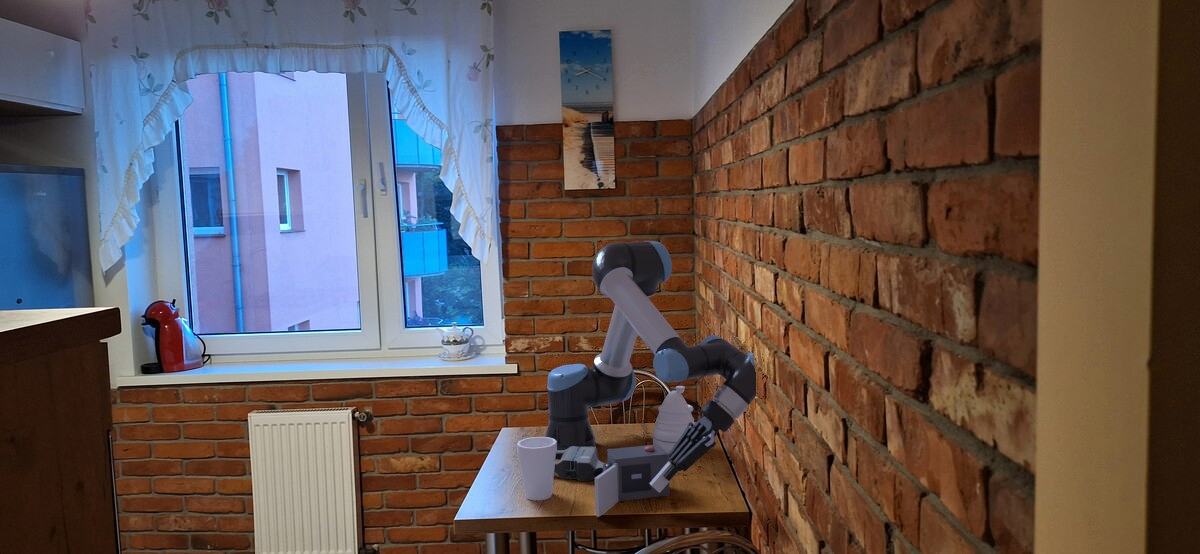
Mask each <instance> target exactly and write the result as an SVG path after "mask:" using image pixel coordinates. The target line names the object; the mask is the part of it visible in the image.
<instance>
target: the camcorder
mask: <svg viewBox="0 0 1200 554" xmlns="http://www.w3.org/2000/svg"><path fill="white" fill-rule="evenodd" d="M604 464H606V462H603V461H601V460H600V459H599V451H598V448H597V446H595V447H576V446H571V447H569V448H568V449H566V450H557V452H556V458H555V469H554V474H557V476H558V477H559V478H560V479H565V480H566V479H567V480H569V479H570V480H571V479H575V480H577V481H579V482H580V481H581V482H590V481H591V480H594V479H595V478H596V477H597V476H598V475H600V474H601V473H603V465H604Z"/></svg>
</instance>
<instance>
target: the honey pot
mask: <svg viewBox="0 0 1200 554" xmlns="http://www.w3.org/2000/svg"><path fill="white" fill-rule="evenodd" d="M684 392H685V386H683V385H677V386H675V390H671V391H669V393H667V394H666V396H665V398H664V400H663V402H662V404H661V405H660V406H658V408H657V410H658V412H659V413H658V415H657V417H656V418H655V420H656V421H655V424H654V427H653V430H652V434H653V435H652V445H657V444H659V445H660V446H661V447H662V448H663V449H664V450H665V451H666V452H667V453H668V454H669V453H670V451H671V450H672V448H673V447H674V445H675V444H676V443H677V441H678V440H679V438H680V437H681V436H682V434H683V433H684V431H685V430H686V428H687V426H688V424H689V423H690V422H692V423H693V424H695V423H696V422H695V418H694V417H693V415H692V412H693V411H694V407H693V405H692V404H691V405H690V404H688V403H687V401H686V399H685V397H684V396H683V395H682V394H683V393H684ZM696 441H697V440H696Z"/></svg>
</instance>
